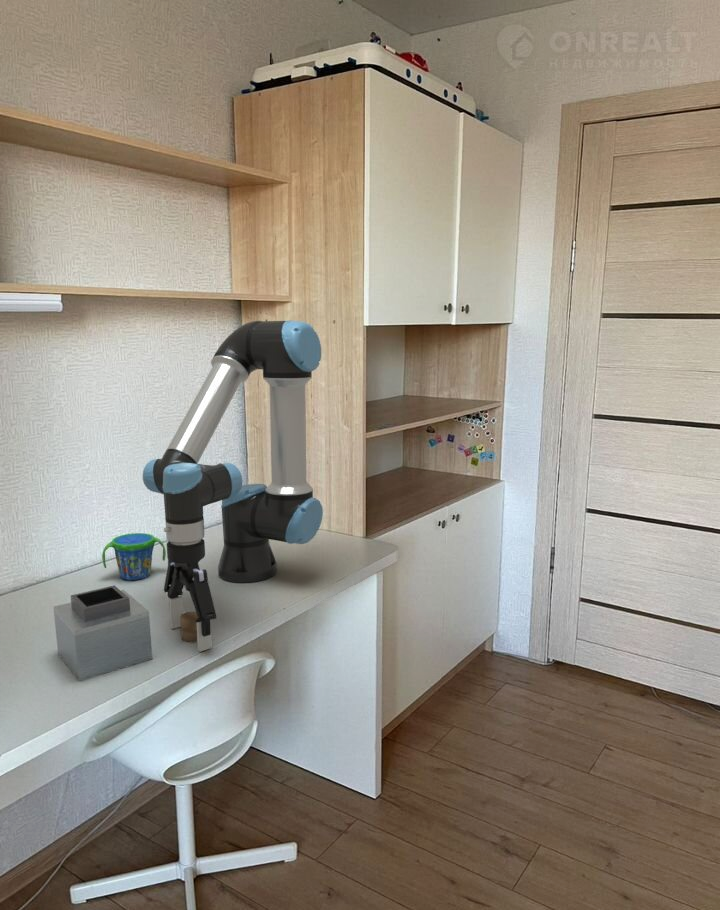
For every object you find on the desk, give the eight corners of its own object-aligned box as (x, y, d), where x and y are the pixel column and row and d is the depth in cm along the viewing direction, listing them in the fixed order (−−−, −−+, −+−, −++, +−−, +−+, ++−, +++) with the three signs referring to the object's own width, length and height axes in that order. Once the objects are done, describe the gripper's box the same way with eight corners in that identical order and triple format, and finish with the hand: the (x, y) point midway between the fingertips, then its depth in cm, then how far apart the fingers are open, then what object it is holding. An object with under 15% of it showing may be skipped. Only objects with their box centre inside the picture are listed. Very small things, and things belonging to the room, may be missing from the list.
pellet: (196, 632, 152) (195, 610, 151) (204, 638, 149) (203, 616, 148) (178, 637, 150) (177, 614, 149) (186, 644, 147) (184, 621, 146)
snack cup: (166, 566, 192) (164, 530, 190) (167, 580, 182) (164, 541, 180) (105, 572, 188) (102, 535, 186) (102, 586, 178) (99, 547, 176)
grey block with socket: (127, 634, 151) (122, 578, 149) (152, 658, 140) (148, 598, 138) (58, 653, 143) (52, 594, 140) (79, 681, 132) (73, 617, 130)
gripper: (144, 529, 153) (150, 622, 157) (194, 559, 133) (199, 665, 137) (178, 523, 157) (182, 613, 161) (230, 551, 138) (234, 654, 142)
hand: (190, 637), depth 149 cm, fingers open, 13 cm apart
